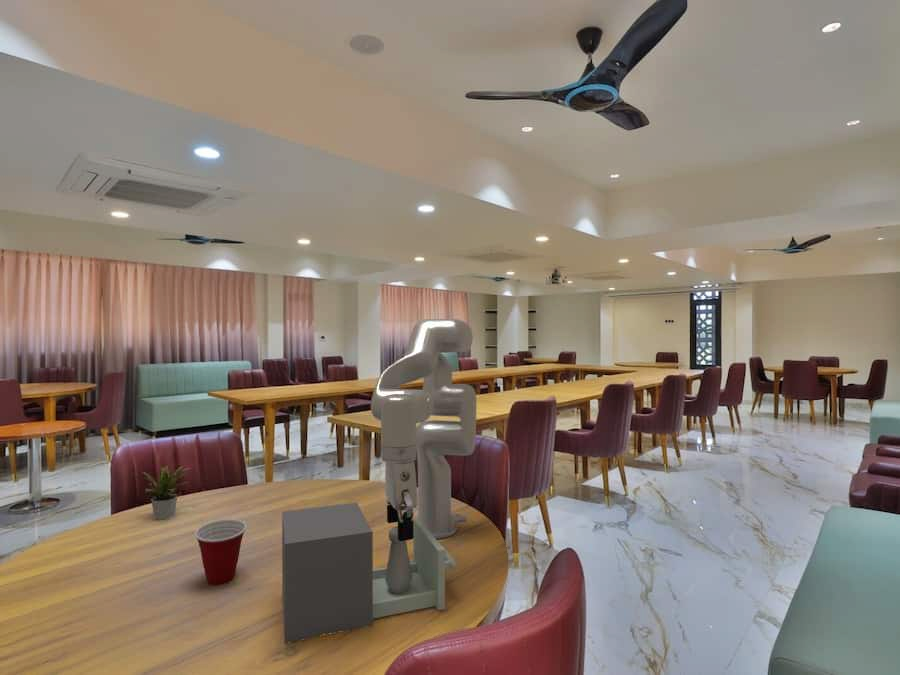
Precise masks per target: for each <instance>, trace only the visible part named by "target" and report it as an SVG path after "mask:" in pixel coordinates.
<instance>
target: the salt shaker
mask: <svg viewBox="0 0 900 675" xmlns="http://www.w3.org/2000/svg"><path fill="white" fill-rule="evenodd" d="M388 540H389V541H390V548H389V554H388V559H387V564H386V565H387V566H386V567H387V570H386V576H385V580H386V583H387V585H388V588H389V590H390V591H391V592H392V593H396V594H401V593H404V592H406V591H408V588H409V586H410V583H411V581H412V572H411V567H410V563H411V562H410V556H409V551H408V545H407V541H408V540H405V541H399V540H398V526H394V527H391V528H390V530H389V531H388Z"/></svg>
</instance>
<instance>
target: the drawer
mask: <svg viewBox="0 0 900 675" xmlns="http://www.w3.org/2000/svg"><path fill="white" fill-rule="evenodd" d="M413 535H414V537H413V539H412V541H413V551H412V552H413V554H412V556H413V559H412V560H413V562H410V567H411V572H412V581H411V583H410V586H409V588H408V591H406V592H404V593H401V594H396V593H392V592H391V591H390V590H389V588H388V585H387V583H386V580H385V576H386V570H387V566H385V567H380V568H375V569H374V568H373V620H374V619H377V618H383V617H388V616H393V615H397V614H398V615H399V614H403V613H407V612H413V611H418V610H423V609H427V608H433V607H435V608H436V610H438V611H443V610H446V579H445V578H446V575H445V574H446V570H450V569H451V570H453V571H454V570H456V569H457V568H458V563H457V562H456V561H455V559H454V558H453V557H452V556H451V554H450V553H449V552H448V551H447V550H446V549H445V548H444V547H443V545H442V544H441V542H439V541H438V539H435V538H434V536H433V535H432V534H431V533H430V532H429V530H428V529H427V528H426V527H425V526H424V525H423V523H422V522H421V521H420V520H419V519H418V518H417V519H414V520H413Z"/></svg>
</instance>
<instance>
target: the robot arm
mask: <svg viewBox="0 0 900 675" xmlns="http://www.w3.org/2000/svg"><path fill="white" fill-rule="evenodd" d="M472 330H473V329H472V327H471V326H470V325H469V323H467V322H466V321H463V320H461V319H457V318H427V319H422V320H419V321H418V322H416V323H415V325H414V326H413V328H412V331H411V334H410V338H409V340H408V345H407V346H406V350H405V353H404V356H402V357H401V358H399V359H398V360H396V361H395V362H393V363H392V364H391V365H389V366H388V367H387V368H386V369H385V370H383V372H382V373H381V374H380V375H379V377H378V379H377V382H376V384H375V386H374V389H373V392H372V396H371V400H370V411H371V414H372V417H373V418H375V420H377V421H380V431H381V432H380V434H381V440H380V443H381V450H380V451H381V461H382V462H384V464H385V470H384V471H385V473H384V474H385V476H384V478H385V479H384V483H385V486H384V489H385V497H386V522H387V524H394V523H397V527H398V540H399V541H405V540H407V541H411V540H413V537H414V535H413V520H415V519H414V509H416V508H417V520H418V519H419V520H420V521H421V522H422V523H423V525H424V526H425V527H426V528H427V529H428V530H429V532H430V533H431V534H432V535H433V536H434V538H435V539H436V540H438V539H445V538H449V537H451V536H453V535H455V533H456V532H457V524H458V523H465V522H467V521H468V516H467V514H462V515H460V513H458V512H457V513H452V494H451V493H452V469H451V466H450V464H449V462H448V460H447V459H446V458H445V456H470V455H472V454H473V453H474V451H475V448H476V441H477V440H476V439H477V438H476V437H477V436H476V435H477V433H476V432H477V393H476V390H475V388H474V387H473V386H472V385H469V384H466V383H453V367H452V365H451V363H450V361H449V360H448V359H447V358H446V356H445V355H444V354H443V353H465V352H468V351H469V350H470V349H471V347H472V345H473V344H472V343H473V332H472ZM421 379H423V380H422V381H423V382H422V384H423V385H422V389H414V388H413V389H410V388H409V389H408V388H400V387H402V386H403V385H406V384H409V383H413V382H416V381H418V380H421ZM431 416H433V417H457V418H459V419H460V420H459V421H457V420H455V421H454V420H433V419H432V420H429V419H430V417H431ZM416 459H417V471H416V467H415V461H416ZM416 472H417V474H416Z"/></svg>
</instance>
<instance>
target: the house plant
mask: <svg viewBox="0 0 900 675" xmlns="http://www.w3.org/2000/svg"><path fill="white" fill-rule="evenodd" d="M183 467H184V465H182V466H180V467H178V468H177V469H176V470H175V471H174V473H171V474H170V470H169V466H168V465H167V464H165V466H163V467H160V470H161V475H160V478H159V480H158V483H157V480H155V479H154V477H153V476H152V475H150V474H148V473H146V472H144V471H142V472H141V473H142V474H144V475H146V476H147V477H146V479H147V480H149V481H150V482H151V483H149V487H150V488H145V489H144V490H145V493H146V492H150V493H152V494H153V495H154V497H152V498H151V499H150V501H151V506H152V512H153V517H154V520H155V521H158V520H162V521H166V520H165V519H168V520H170V519H169V518H171V517H173V516H174V517H175V512H176V507H177V501H178V494H175V492H176V491H177V490H178V489H179V488H180V487H181V486H183V485H184V486H186V483H187V484H188V481H186V482H183V483H177V481H178V479H179V478H181V477H182V476H185V475H186V473H184V474H181V473H183V472H184V471H186V470H189V469H191V467H188V468H187V467H186V468H184V469H182V468H183ZM180 474H181V475H180ZM179 475H180V476H179ZM177 486H178V487H177ZM176 487H177V488H176ZM172 492H173V493H172ZM174 517H173V518H174ZM171 519H172V518H171Z"/></svg>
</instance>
